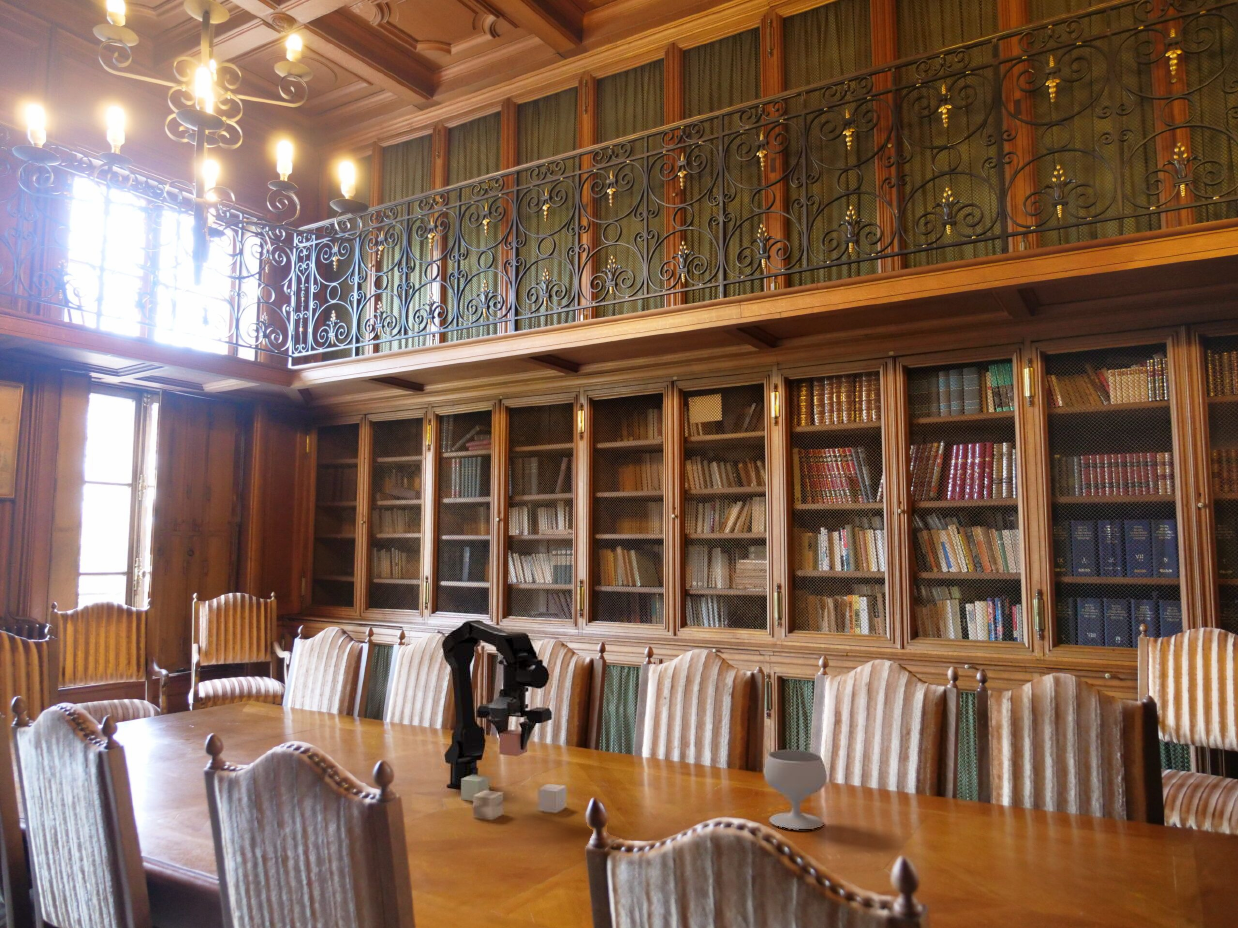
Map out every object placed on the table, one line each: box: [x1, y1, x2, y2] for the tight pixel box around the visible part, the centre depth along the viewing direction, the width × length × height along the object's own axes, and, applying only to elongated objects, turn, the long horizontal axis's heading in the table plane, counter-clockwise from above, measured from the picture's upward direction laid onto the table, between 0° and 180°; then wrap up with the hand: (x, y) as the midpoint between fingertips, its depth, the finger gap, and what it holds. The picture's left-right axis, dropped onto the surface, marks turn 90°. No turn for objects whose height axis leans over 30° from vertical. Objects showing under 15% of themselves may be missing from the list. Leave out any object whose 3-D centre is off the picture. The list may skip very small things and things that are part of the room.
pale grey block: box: [537, 783, 567, 814], centre depth 201 cm, size 5×5×5 cm
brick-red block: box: [498, 729, 528, 757], centre depth 207 cm, size 5×5×5 cm
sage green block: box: [460, 774, 490, 802], centre depth 210 cm, size 5×5×5 cm
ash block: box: [472, 790, 504, 821], centre depth 196 cm, size 5×5×5 cm
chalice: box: [763, 749, 828, 831], centre depth 191 cm, size 14×14×15 cm
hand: (513, 748), depth 207 cm, fingers closed on brick-red block, 5 cm apart
